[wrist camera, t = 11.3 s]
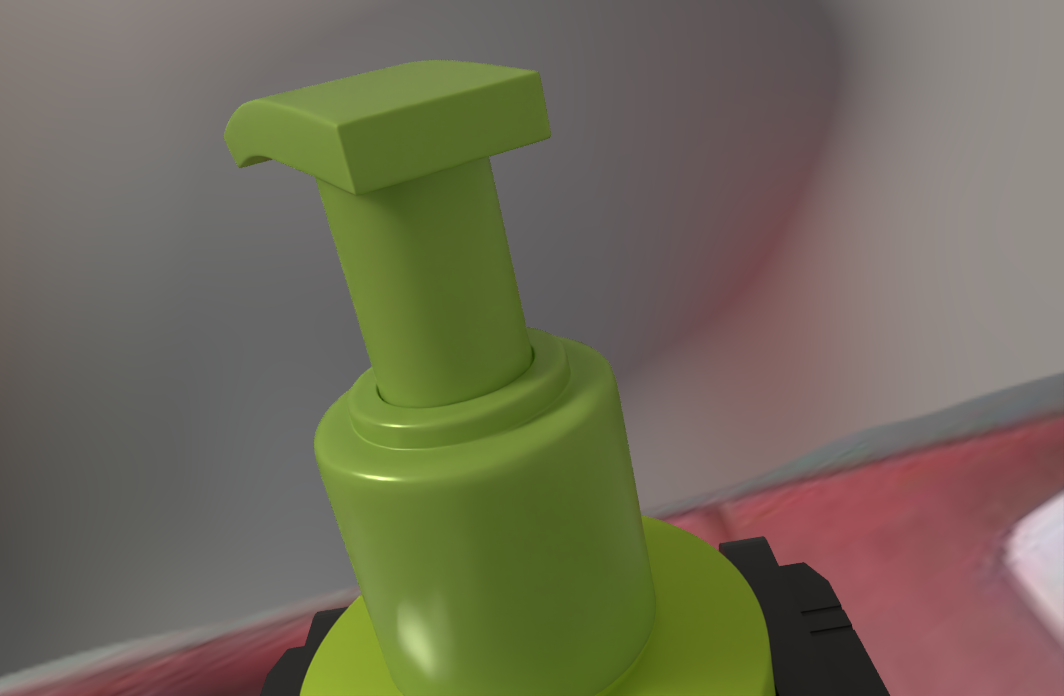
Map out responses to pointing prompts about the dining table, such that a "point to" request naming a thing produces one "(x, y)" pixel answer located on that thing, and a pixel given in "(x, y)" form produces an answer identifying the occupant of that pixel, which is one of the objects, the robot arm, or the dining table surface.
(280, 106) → the soap dispenser
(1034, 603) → the dining table surface
